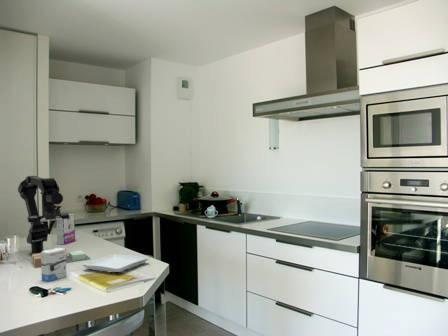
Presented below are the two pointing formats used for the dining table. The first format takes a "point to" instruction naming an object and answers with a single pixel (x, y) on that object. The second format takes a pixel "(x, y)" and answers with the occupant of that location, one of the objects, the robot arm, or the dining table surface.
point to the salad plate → (115, 263)
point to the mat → (75, 260)
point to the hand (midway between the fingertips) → (49, 234)
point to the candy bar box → (65, 230)
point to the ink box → (53, 264)
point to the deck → (36, 260)
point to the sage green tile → (77, 255)
